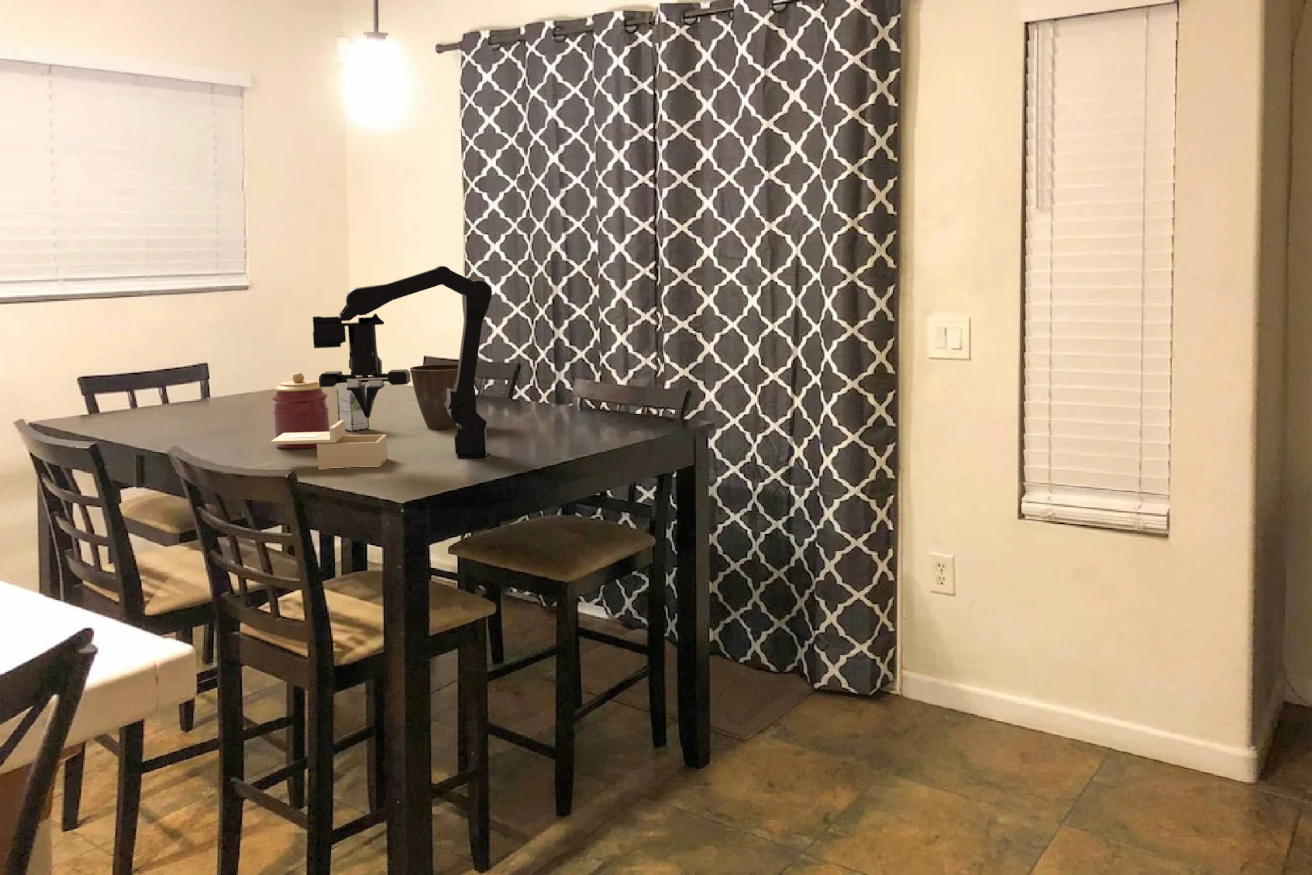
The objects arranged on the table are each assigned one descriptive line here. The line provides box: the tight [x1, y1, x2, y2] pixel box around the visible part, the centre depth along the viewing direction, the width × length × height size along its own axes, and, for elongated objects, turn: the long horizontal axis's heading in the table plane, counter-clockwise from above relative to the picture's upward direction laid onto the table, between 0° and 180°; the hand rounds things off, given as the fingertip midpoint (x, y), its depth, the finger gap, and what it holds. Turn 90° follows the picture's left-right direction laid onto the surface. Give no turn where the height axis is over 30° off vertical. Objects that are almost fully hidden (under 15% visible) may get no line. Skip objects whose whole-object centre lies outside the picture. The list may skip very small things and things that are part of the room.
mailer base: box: [316, 434, 388, 469], centre depth 242 cm, size 13×10×6 cm
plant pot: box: [409, 363, 458, 430], centre depth 288 cm, size 15×15×16 cm
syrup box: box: [335, 376, 370, 432], centre depth 287 cm, size 6×6×14 cm
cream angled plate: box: [269, 420, 347, 446], centre depth 241 cm, size 14×11×3 cm
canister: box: [271, 372, 330, 450], centre depth 266 cm, size 13×13×18 cm
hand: (367, 417), depth 241 cm, fingers closed
